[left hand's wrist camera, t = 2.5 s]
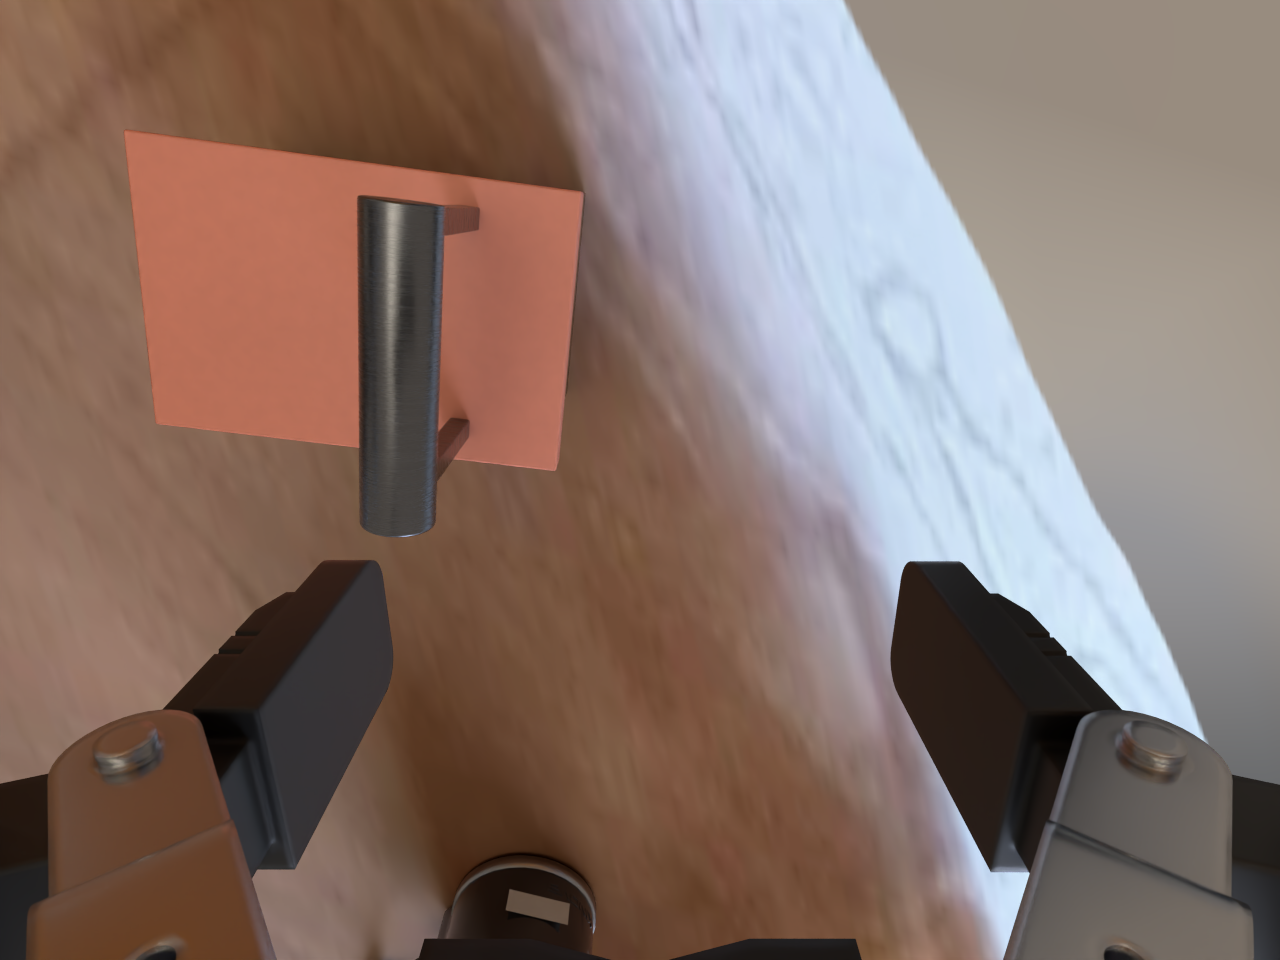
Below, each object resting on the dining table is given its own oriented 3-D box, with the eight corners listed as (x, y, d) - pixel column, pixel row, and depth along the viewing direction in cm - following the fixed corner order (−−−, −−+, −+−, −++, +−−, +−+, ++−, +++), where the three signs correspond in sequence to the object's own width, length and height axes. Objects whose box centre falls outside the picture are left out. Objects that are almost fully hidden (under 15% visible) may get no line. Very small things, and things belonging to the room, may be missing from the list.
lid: (584, 191, 24) (553, 186, 16) (558, 461, 28) (522, 577, 19) (146, 132, 24) (-136, 92, 15) (174, 415, 27) (-43, 515, 18)
